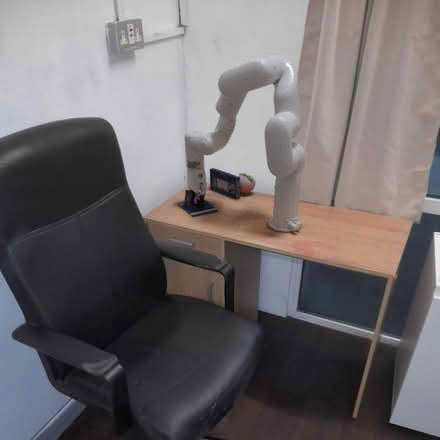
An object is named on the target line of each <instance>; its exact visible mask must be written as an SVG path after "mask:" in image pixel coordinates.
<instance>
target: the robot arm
mask: <svg viewBox="0 0 440 440" xmlns="http://www.w3.org/2000/svg"><path fill="white" fill-rule="evenodd" d="M298 78H299V77H298V72H297V69H296V68H295V65H294V64H293V63H292V61H291V60H289V59H288V58H286V57H285V56H282V55H279V54H270V55H269V54H268V55H264V56H261V57H256V58H254V59H251V60H248V61H246V62H243V63H241V64H239V65H236V66H233V67H231V68H230V67H229V68H227V69H225V70H224V71H222V73H221V74H220V75H219V78H218V81H217V86H218V90H219V92H220V95H219V97H218V99H217V101H216V103H215V110H216V112H217V113H218V114H219V117H218V121H217V123H216V125H215V128H214V129H213V130H212V131H211V132H209V133H206V134H204V133H203V132H202V131H200V130H190V131H187V132H185V134H184V149H185V150H184V151H185V166H186V180H187V181H186V184H187V187H188V190H191V191H194V192H196V193H197V195H195V194H194V192H193V193H192V202H191V203H194V201H193V200H194V199H195V196H197V198H198V199H197V208H203V207H204V200H205V197H206V196H207V195H206V194H207V191H208V184H207V174H206V170H205V168H206V167H205V156H211V155H214V154H216V153H217V152H219V151H221V150H223V149H224V148H225V147H226V146H227V145H228V143H229V142H230V140H231V137H232V136H233V134H234V131H235V128H236V124H237V117H238V114H239V112H240V110H241V107H242V105H243V103H244V102H245V99H246V97H247V95H248V93H249V92H252V91H255V90H259V89H261V88H264V87H267V86H270V85H272V86H273V87H274V90H273V108H274V111H273V112H274V115H273V116H272V117H270V118H269V119H268V121H267V122H266V123H265V127H264V146H265V156H266V164H267V169H268V170H269V172H270V174H271V175H273V176H274V177H275V179H274V181H275V182H274V194H273V195H274V197H273V211H272V218H270V219H269V220H268V227H269V228H270V229H272V230H274V231H278V232H281V233H287V232H288V233H290V232H295V231H298V230H299V229H300V228H301V227H302V225H303V224H302V223H301V221H300V217H299V205H300V198H301V197H300V196H301V188H302V187H301V185H302V178H303V173H304V167H305V162H306V152H305V149H304V147H303V146H302V145H301V144H300V143H299V142H296V141H293V139H294V138H295V137H297V136H298V134H299V133H300V132H301V128H302V122H301V121H302V120H301V110H300V109H301V106H300V91H299V79H298ZM199 193H201V195H199Z"/></svg>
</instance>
